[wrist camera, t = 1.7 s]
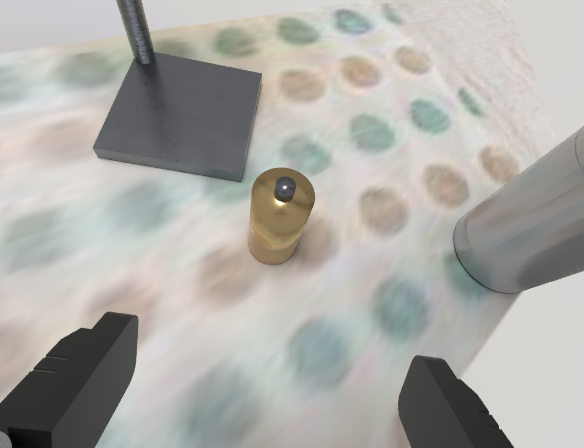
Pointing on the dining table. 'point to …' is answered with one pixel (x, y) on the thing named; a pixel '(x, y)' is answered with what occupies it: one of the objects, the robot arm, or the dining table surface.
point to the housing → (278, 214)
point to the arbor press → (178, 110)
